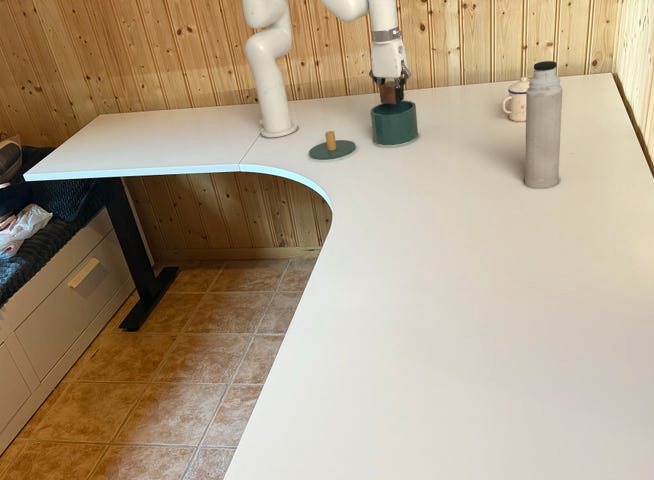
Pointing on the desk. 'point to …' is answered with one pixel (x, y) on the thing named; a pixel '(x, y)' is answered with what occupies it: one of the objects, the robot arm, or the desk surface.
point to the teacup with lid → (517, 100)
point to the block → (388, 93)
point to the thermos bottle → (543, 126)
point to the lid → (332, 148)
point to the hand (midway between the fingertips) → (392, 99)
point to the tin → (394, 123)
